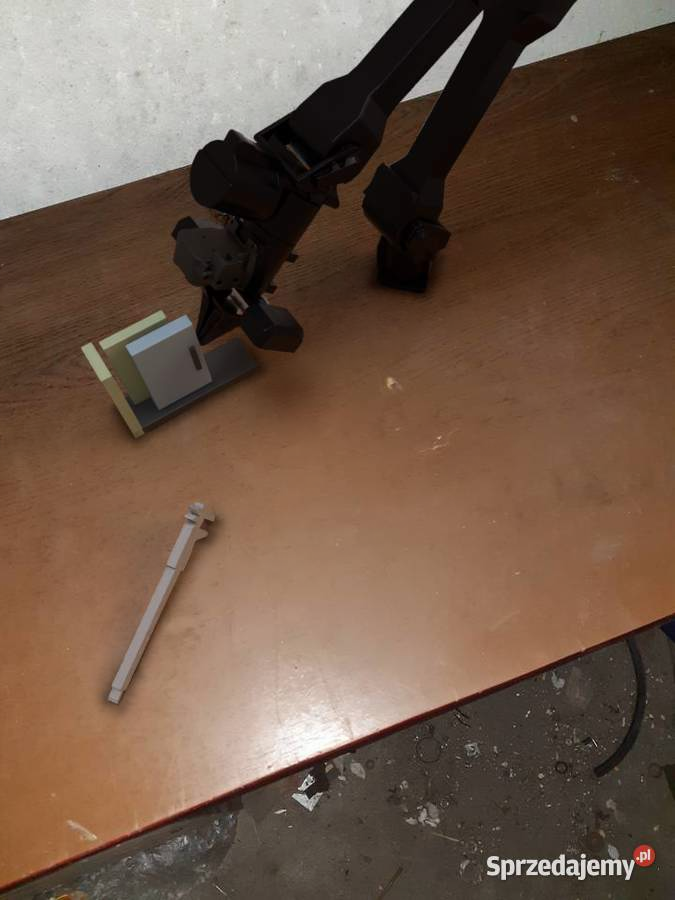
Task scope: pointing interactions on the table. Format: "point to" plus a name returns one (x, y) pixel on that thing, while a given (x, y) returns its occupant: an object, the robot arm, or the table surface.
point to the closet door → (170, 362)
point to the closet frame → (138, 405)
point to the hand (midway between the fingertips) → (198, 343)
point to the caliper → (161, 595)
